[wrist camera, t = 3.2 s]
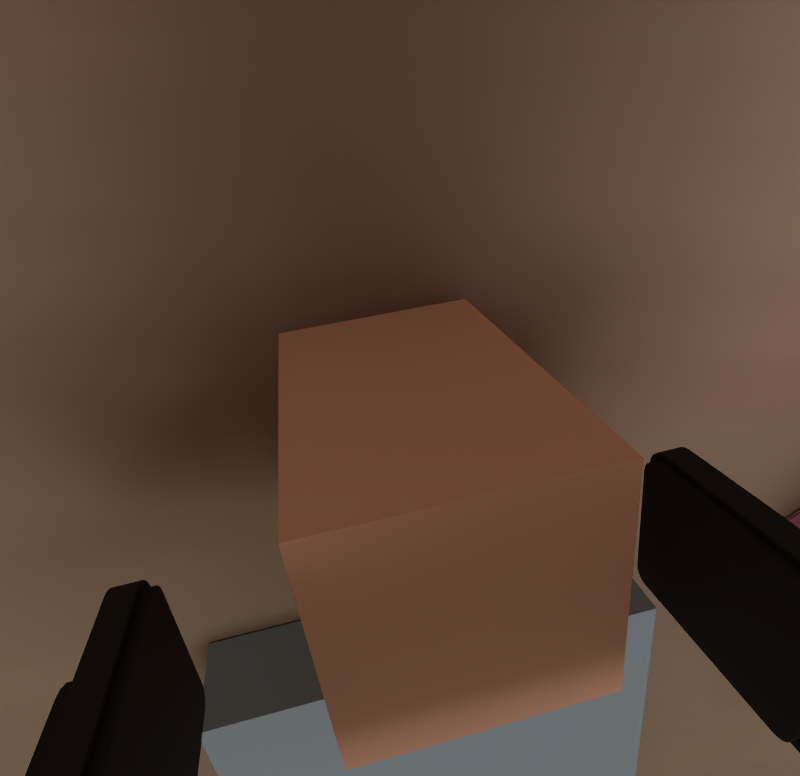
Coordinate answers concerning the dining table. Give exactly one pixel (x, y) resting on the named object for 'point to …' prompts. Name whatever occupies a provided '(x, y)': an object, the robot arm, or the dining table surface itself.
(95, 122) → the dining table surface
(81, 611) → the dining table surface
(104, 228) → the dining table surface
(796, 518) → the box
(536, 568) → the block
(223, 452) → the dining table surface
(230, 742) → the base
